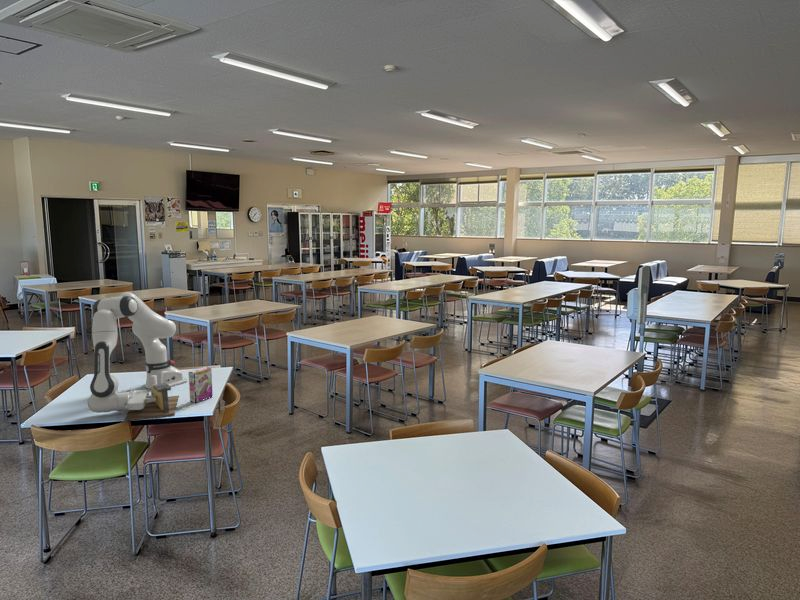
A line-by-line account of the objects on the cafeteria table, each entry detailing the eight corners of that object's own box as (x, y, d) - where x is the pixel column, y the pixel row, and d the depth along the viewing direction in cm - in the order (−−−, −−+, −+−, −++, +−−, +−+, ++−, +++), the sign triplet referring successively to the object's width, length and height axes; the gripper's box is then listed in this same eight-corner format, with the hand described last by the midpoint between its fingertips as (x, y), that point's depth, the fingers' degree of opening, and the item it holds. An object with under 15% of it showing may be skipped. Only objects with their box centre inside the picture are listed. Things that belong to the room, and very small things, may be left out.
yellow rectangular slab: (151, 399, 279) (148, 375, 277) (157, 398, 281) (155, 374, 279) (161, 410, 264) (159, 385, 262) (168, 408, 266) (166, 383, 264)
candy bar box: (196, 403, 278) (194, 373, 275) (189, 401, 280) (187, 371, 278) (213, 397, 287) (211, 367, 285) (207, 395, 290) (205, 366, 287)
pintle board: (133, 402, 281) (131, 377, 278) (178, 397, 287) (176, 373, 285) (124, 421, 254) (121, 394, 252) (174, 415, 261) (172, 389, 259)
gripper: (121, 401, 254) (153, 398, 258) (128, 388, 273) (158, 386, 278) (122, 414, 255) (154, 411, 259) (129, 400, 274) (159, 398, 278)
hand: (156, 398), depth 269 cm, fingers closed
